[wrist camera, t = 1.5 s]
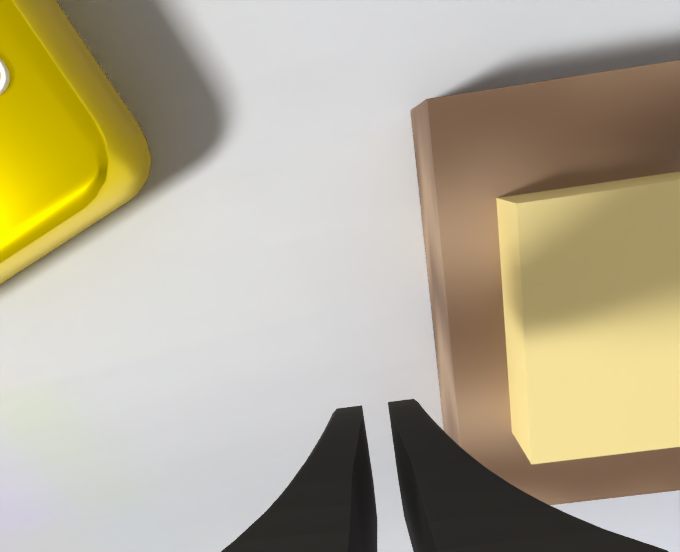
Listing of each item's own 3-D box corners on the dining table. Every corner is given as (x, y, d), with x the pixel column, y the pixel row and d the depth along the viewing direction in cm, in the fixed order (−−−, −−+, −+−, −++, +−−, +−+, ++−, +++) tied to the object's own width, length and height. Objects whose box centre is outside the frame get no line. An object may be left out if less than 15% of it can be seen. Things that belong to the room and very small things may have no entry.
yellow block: (671, 412, 18) (710, 442, 16) (512, 432, 18) (531, 464, 16) (676, 172, 16) (722, 174, 14) (496, 197, 16) (516, 203, 14)
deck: (699, 424, 23) (773, 479, 19) (446, 454, 23) (467, 514, 19) (713, 63, 19) (809, 40, 15) (410, 110, 19) (427, 99, 16)
